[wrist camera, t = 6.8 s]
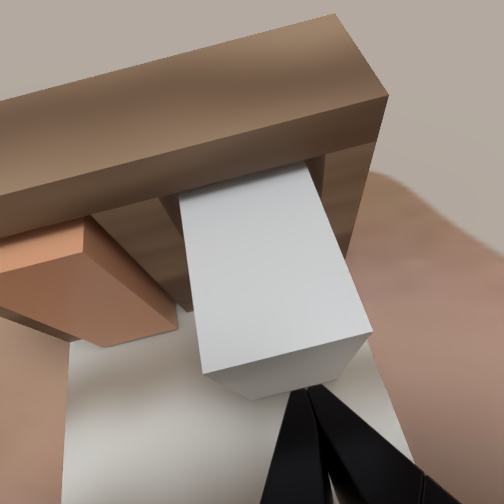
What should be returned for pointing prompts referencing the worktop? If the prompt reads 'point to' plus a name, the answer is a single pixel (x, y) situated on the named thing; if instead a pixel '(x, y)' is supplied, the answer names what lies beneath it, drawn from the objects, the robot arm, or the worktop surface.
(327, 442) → the robot arm
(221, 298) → the grey plug
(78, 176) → the socket block
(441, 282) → the worktop surface
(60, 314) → the terracotta plug
